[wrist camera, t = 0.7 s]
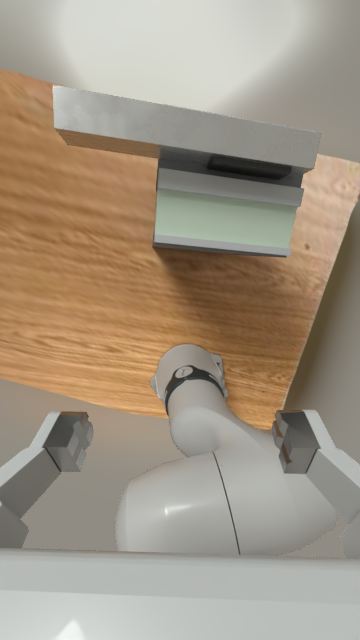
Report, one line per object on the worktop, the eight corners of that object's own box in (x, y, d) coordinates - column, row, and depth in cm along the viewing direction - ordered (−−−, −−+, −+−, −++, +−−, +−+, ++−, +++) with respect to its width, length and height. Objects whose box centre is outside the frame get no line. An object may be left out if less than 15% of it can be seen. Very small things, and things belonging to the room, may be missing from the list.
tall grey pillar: (233, 190, 51) (316, 129, 25) (224, 254, 54) (289, 257, 29) (156, 179, 49) (163, 101, 23) (152, 246, 52) (154, 243, 27)
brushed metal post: (299, 147, 26) (321, 133, 23) (292, 183, 27) (312, 174, 24) (66, 108, 23) (52, 84, 20) (67, 150, 24) (54, 134, 21)
